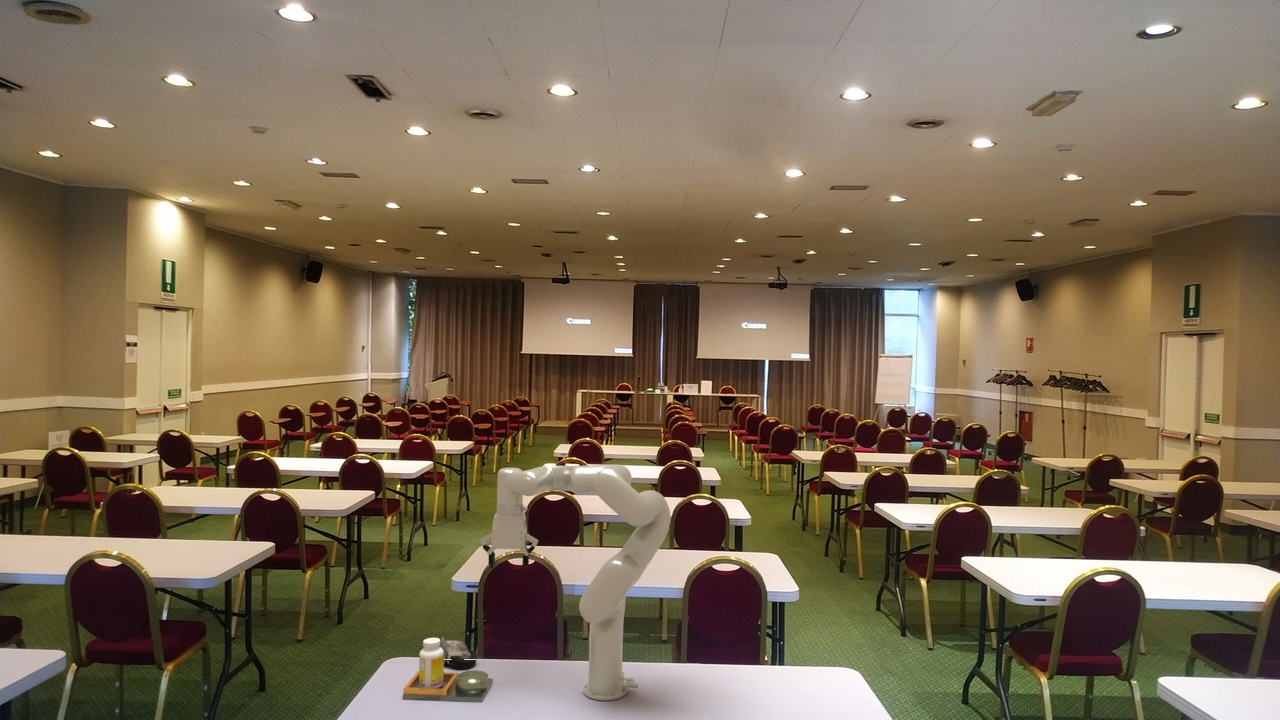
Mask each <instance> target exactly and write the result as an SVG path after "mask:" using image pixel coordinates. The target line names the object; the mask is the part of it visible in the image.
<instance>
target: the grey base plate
mask: <svg viewBox="0 0 1280 720" xmlns="http://www.w3.org/2000/svg"><path fill="white" fill-rule="evenodd" d="M493 683H494V678H489V674H488V672H486V671H484V670H483V671H482V670H475V669H474V670H466V671H463V672H460V673H459V672H446V671H443V685H442V686H441V687H439V688H420V686H419V671H416V673H415V674H414V675H413V677H412V678H411V679H410V680H409V681H408V683H407V684H406V685H405V686H404V687H403V694H402V700H405V701H406V700H410V701H411V700H412V701H432V702H433V701H438V702H439V701H440V702H461V703H462V702H464V703H465V702H466V703H468V702H470V703H483V701H484V700H483V699H485V698H486V696H487V694H488V692H489V691H488V690H490V689H491V687H492V684H493ZM484 697H485V698H484Z"/></svg>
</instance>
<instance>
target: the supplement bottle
mask: <svg viewBox="0 0 1280 720" xmlns="http://www.w3.org/2000/svg"><path fill="white" fill-rule="evenodd" d="M440 644H441V639H440V638H439V637H428V638H426V639H424V640H423V641H422V646H423V648H422V649H421V650H420V651H419V655H418V656H419V661H418V662H419V663H418V664H419V666H418V667H419V668H418V669H419V686H420V688H439V687H441V686H442V685H443V672H444V666H445V663H444V651H443V649H442V648H440Z"/></svg>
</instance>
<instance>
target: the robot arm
mask: <svg viewBox="0 0 1280 720" xmlns="http://www.w3.org/2000/svg"><path fill="white" fill-rule="evenodd" d="M632 480H633V478H632V474H631V471H630V469H628V467H626V466H624V465H622V464H597V465H595V464H594V465H593V464H592V465H549V466H547V465H546V466H545V465H544V466H538V467H534V468H531V469H528V470H527V469H526V470H523V469H521V468H518V467H503V468H500V469H499V470H498V472H497V483H496V484H497V487H496V492H497V493H496V494H497V495H496V513H494V516H493V522H492V529H491V533H489V534H486V535H484V536H483V537H481V538H480V539H479V542H480V544H481V546H482V549H483V550H484V551H485V552H486V554H487V555H488V566H489V569H493V568H494V567H495V566H496V553H495V550H496V549H498V550H520V551H521V552H522V553H523V555H522V570H526V568H527V567H528V566H529V563H530V561H529V560H530V557H529V556H530V554H531V553H532V552H533V551H534V550H535V549H536V547H537V544H538V543H539V539H537V538H536V537H534V536H532V535H530V534H529V533H528V527H527V526H528V525H527V524H528V523H527V517H526V514H525V513H524V512H528V506H525V505H524V503H523V499H524V496H525V497H535V496H537V495H540V494H542V493H544V492H545V493H546V492H551V491H553V492H555V491H556V492H557V491H565V492H572V493H574V494H575V495H576V496H598V497H599V499H600V500H601V501H603V502H604V504H606V505H607V506H608V507H609V508H610V509H611V510H612V511H613V512H614V513H616V514H617V515H618V516H619V517H620V518H621V519H622V520H623V521H624V522H626V523H627V524H629V525H630V526H632V527H635V530H634V531H633V532H632V533H631V535H630V537H629V538H628V540H627V541H626V542H625V544H624V546H623V547H622V548H621V550H620V551H619V552H618V553H616V554H615V555H613V556H612V557H610V559H608V560H607V561H606V562H605V563H603V565H602V566H601V567H600V569H599V570H598V572H597V573H596V575H595V577H594V578H593V579H592V580H591V582H590V583H589V585H588V586H587V588H586V590H584V592H583V593H582V596H581V598H580V600H579V604H578V606H579V612H580V615H581V617H582V619H584V620H585V622H587V623H589V637H588V641H589V642H588V644H589V645H588V647H589V650H588V651H589V652H588V681H587V682H586V683H584V685H583V686H582V693H583V694H584V695H585V696H586V697H587V698H590V699H592V700H595V701H602V702H603V701H606V702H607V701H615V700H619V699H621V698H623V697H624V696H625V695H627V693H628V688H631V689H638V683H639V682H638V680H635V678H633V677H626V676H624V672H623V647H624V644H623V643H624V642H623V641H624V638H623V637H624V620H625V618H624V617H625V612H626V611H625V609H626V602H627V601H626V600H627V599H626V598H627V597H626V595H627V593H628V592H629V591H630V589H631V588H632V587H633V586H634V585H635V584H637V582H638V581H639V580H640V579H641V576H642V575H643V574H644V571H645V570H646V569H647V568H648V566H649V564H650V563H651V561H652V560H653V559H654V557H655V555H656V553H657V552H658V551H659V549H660V548H661V546H662V544H663V543H664V541H665V539H666V537H667V536H668V532H669V530H670V525H671V511H670V507H669V503H668V502H667V500H666V498H665V497H664V495H662V494H661V493H660V492H658V491H656V490H654V489H653V490H652V489H651V490H650V489H649V490H643V491H640V492H639V491H637V490H636V489H635V488H633V487H632V486H631V484H632ZM489 540H490V542H491V543H490V544H491V547H490V546H489V544H488V543H487V541H489ZM528 542H531V543H532V544H531V545H530V547H527V545H528Z"/></svg>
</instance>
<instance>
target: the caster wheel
mask: <svg viewBox="0 0 1280 720" xmlns="http://www.w3.org/2000/svg"><path fill="white" fill-rule="evenodd" d="M439 647H440V648H442V649H443V651H444V659H452V660H444V664H445V663H447V664H448V665H451V666H452V667H454V668H456V669H458V670H470V669H472V668H471V667H473V666H474V667H475V666H476V662H477V658H478V655H477V654H476V652H475V651H474V650H472V649H469V648H468V647H467V645H466V644H465V642H463V641H461V640H445V639H444V637H443V636H442V637H441V639H440V646H439ZM464 659H476V660H464ZM474 667H473V668H474ZM469 668H470V669H469Z"/></svg>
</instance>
